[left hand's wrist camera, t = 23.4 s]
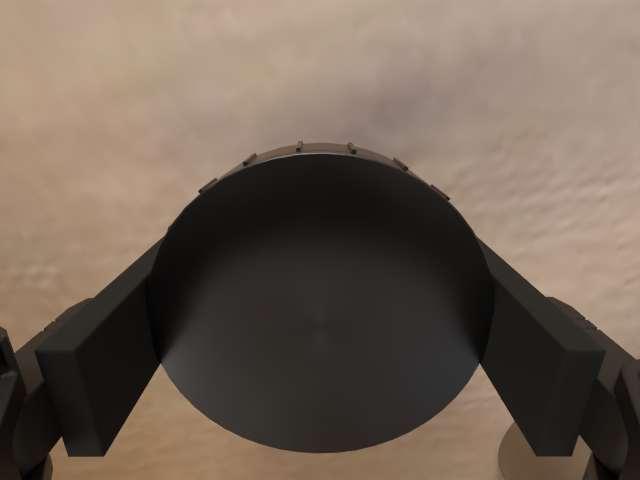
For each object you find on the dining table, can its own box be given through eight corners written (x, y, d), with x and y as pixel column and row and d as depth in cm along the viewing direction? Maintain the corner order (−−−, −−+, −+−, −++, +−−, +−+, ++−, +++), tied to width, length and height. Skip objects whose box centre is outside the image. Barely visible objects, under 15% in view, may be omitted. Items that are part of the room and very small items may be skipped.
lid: (472, 120, 10) (507, 125, 8) (464, 394, 13) (488, 443, 11) (135, 160, 10) (95, 173, 9) (208, 417, 14) (190, 466, 12)
